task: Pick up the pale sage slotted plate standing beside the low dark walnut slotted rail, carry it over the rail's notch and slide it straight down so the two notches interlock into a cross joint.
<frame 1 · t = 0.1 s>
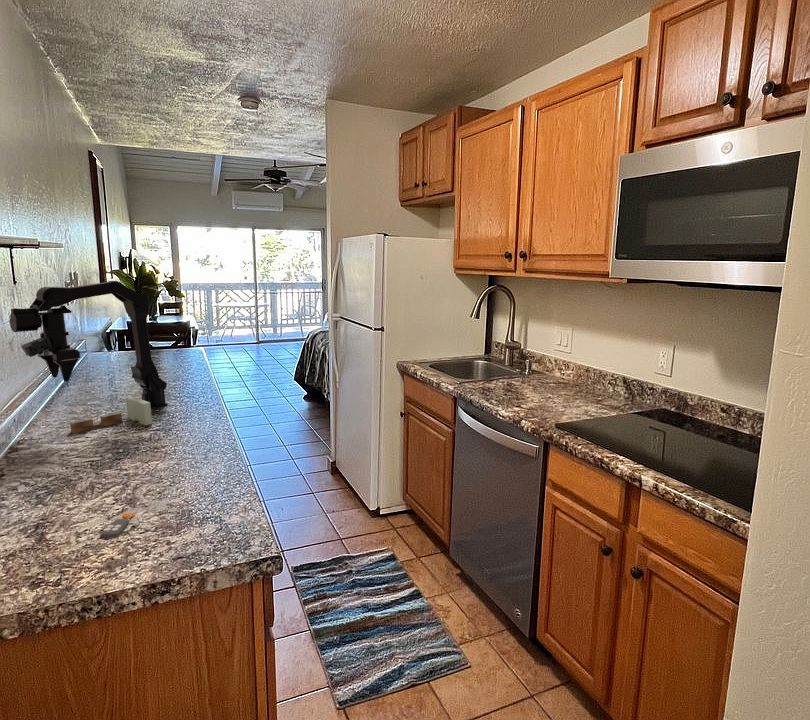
hand: (60, 379, 160), 15 cm above the worktop, fingers open, 9 cm apart
walnut rail: (97, 426, 161), on the worktop
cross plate: (139, 421, 167), on the worktop
key chain: (125, 523, 103), on the worktop
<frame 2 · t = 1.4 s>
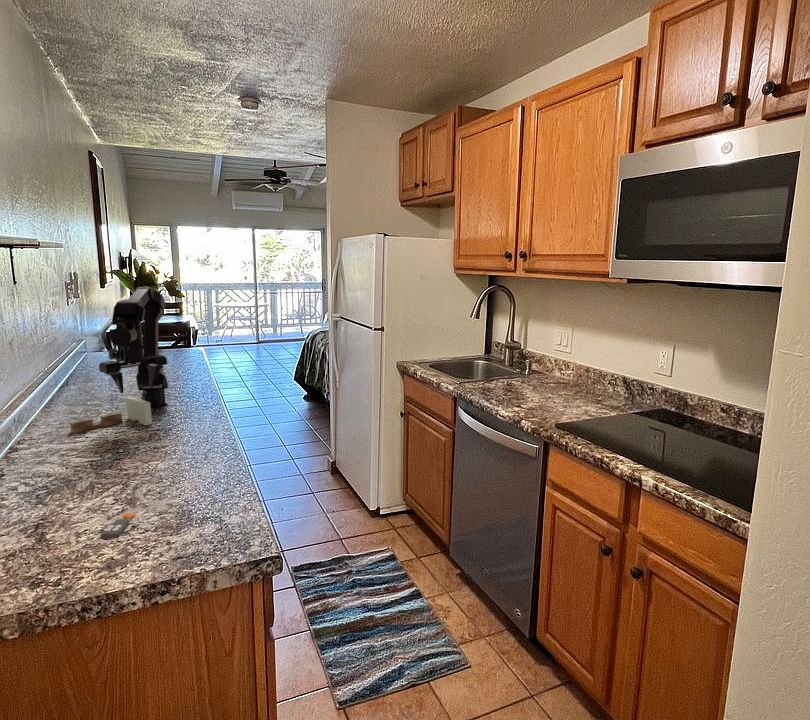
hand: (136, 390, 165), 10 cm above the worktop, fingers open, 9 cm apart
nothing on the worktop moved.
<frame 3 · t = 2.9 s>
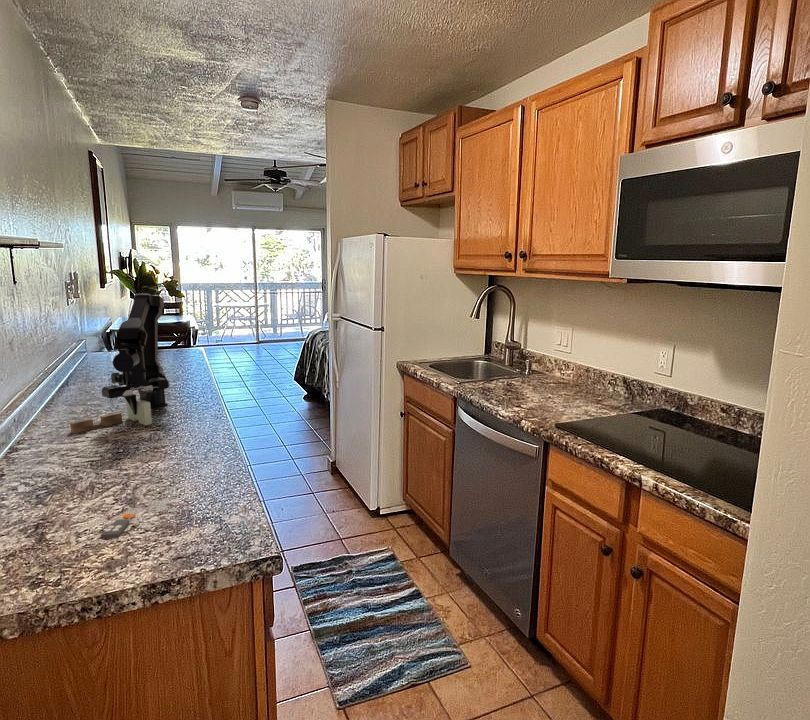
hand: (138, 413, 166), 3 cm above the worktop, fingers closed on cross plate, 2 cm apart
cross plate: (139, 421, 167), on the worktop, touching gripper
everything else where it was.
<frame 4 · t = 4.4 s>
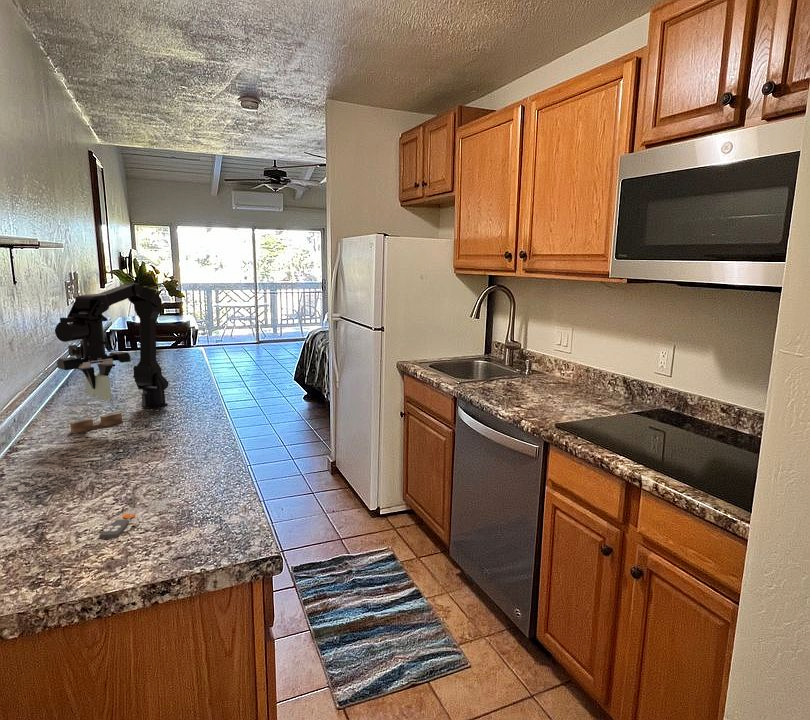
hand: (97, 388, 159), 12 cm above the worktop, fingers closed on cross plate
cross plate: (98, 396, 159), point 10 cm above the worktop, touching gripper
everything else where it was.
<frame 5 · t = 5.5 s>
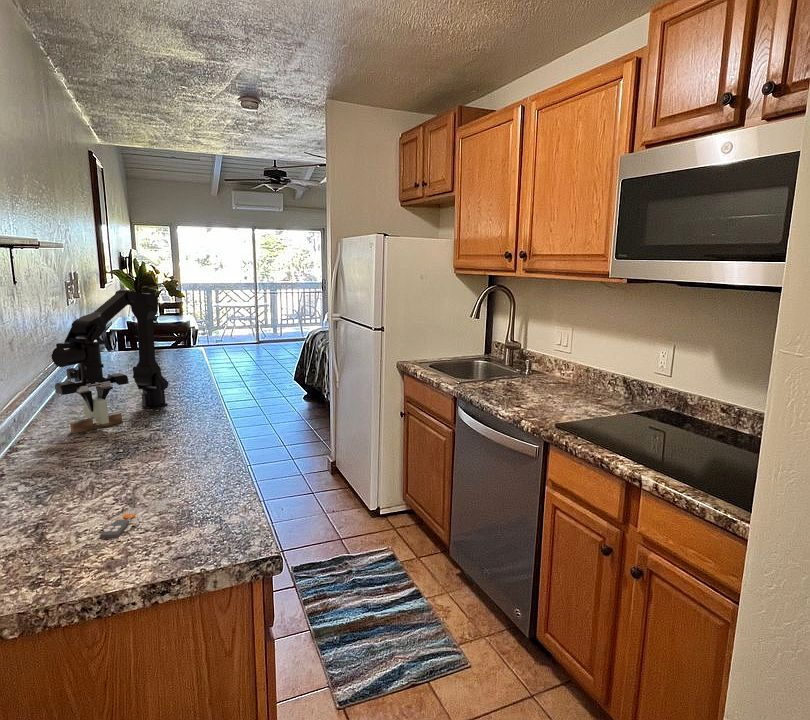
hand: (95, 410, 160), 5 cm above the worktop, fingers closed on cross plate, 2 cm apart
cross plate: (96, 419, 160), point 2 cm above the worktop, touching gripper
everything else where it was.
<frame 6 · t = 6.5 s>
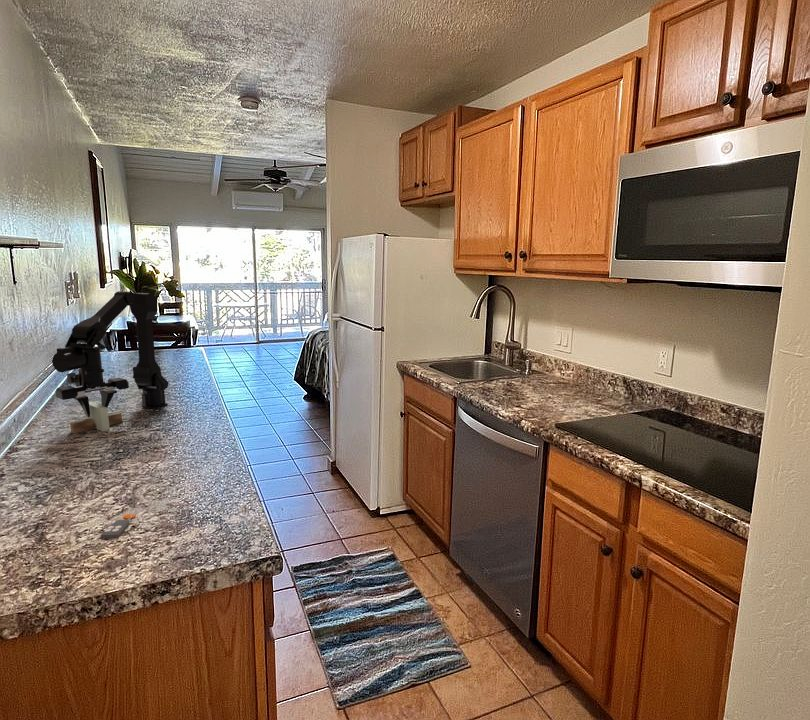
hand: (96, 415, 160), 4 cm above the worktop, fingers open, 4 cm apart
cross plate: (97, 426, 161), on the worktop, touching walnut rail
everything else where it was.
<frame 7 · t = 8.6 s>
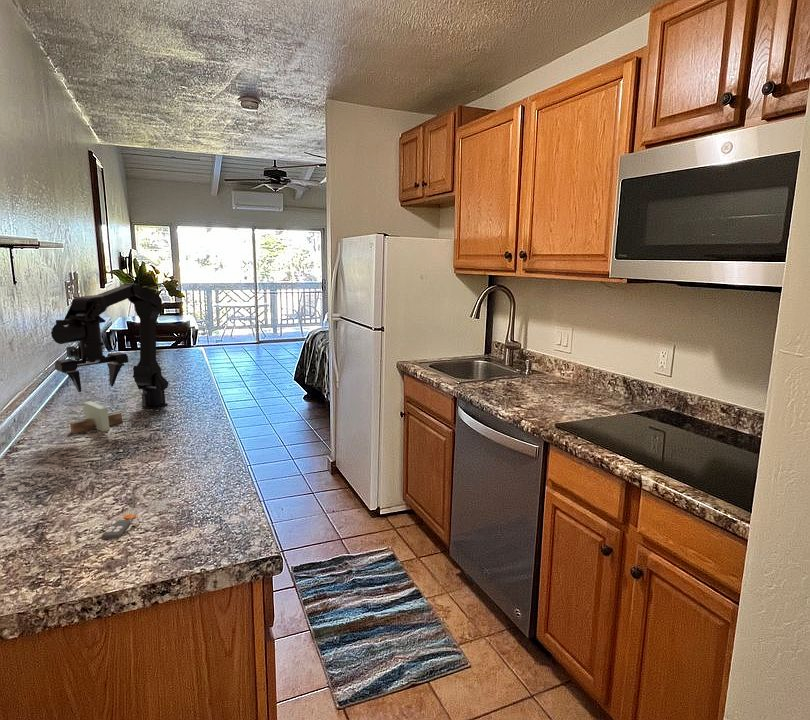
hand: (96, 389, 160), 12 cm above the worktop, fingers open, 9 cm apart
nothing on the worktop moved.
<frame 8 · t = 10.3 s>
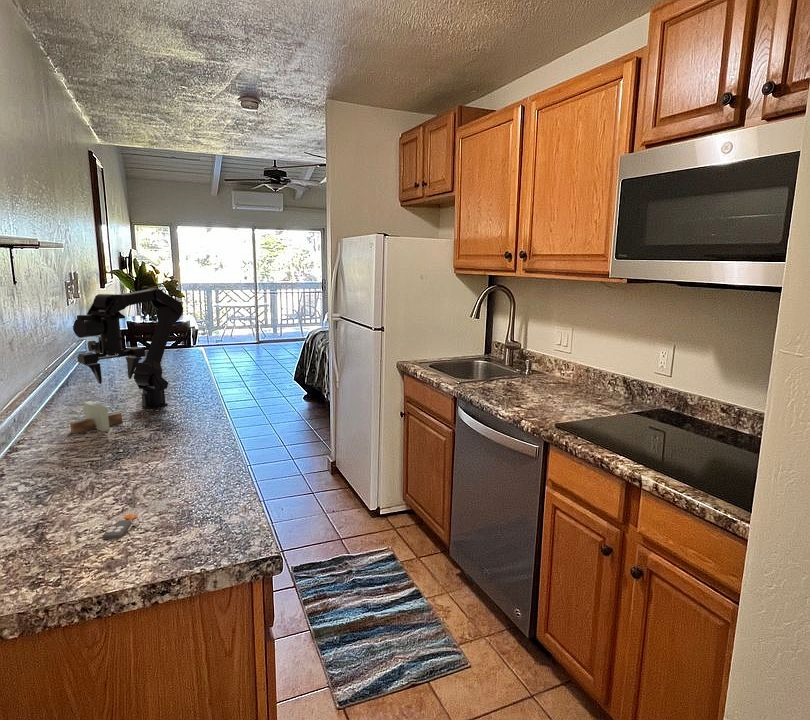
hand: (115, 381, 169), 12 cm above the worktop, fingers open, 9 cm apart
nothing on the worktop moved.
at the end: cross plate 0.1 cm off-centre on the walnut rail, point 0.0 cm above the walnut rail's base; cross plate tilted 0°; the gripper is holding nothing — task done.
